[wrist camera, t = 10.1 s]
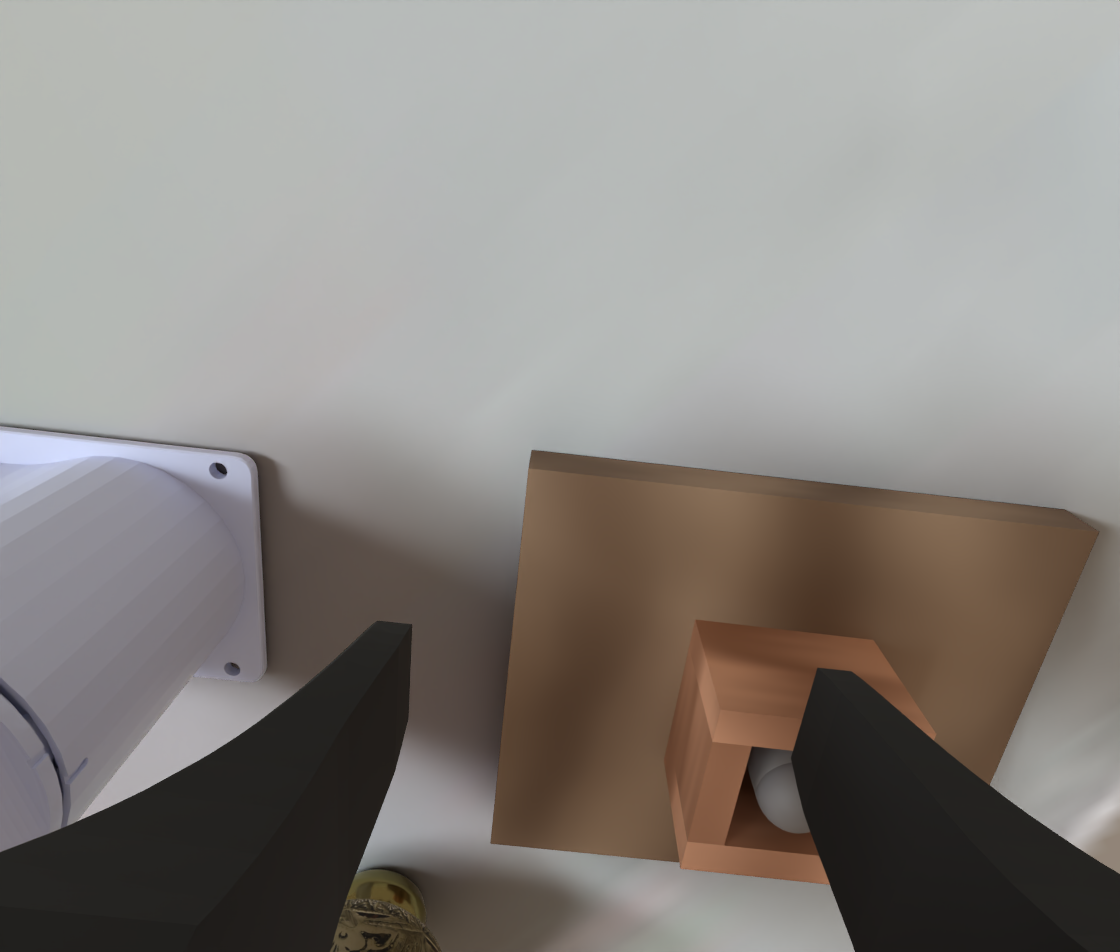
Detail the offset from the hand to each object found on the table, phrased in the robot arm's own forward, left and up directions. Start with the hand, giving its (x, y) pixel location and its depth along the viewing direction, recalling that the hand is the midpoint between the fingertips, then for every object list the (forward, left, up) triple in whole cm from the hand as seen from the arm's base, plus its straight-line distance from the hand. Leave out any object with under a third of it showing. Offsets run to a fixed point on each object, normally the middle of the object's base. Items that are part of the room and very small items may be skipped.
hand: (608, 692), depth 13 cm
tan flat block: (+6, -6, -9) cm, 13 cm away
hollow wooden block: (+6, -6, -8) cm, 12 cm away
